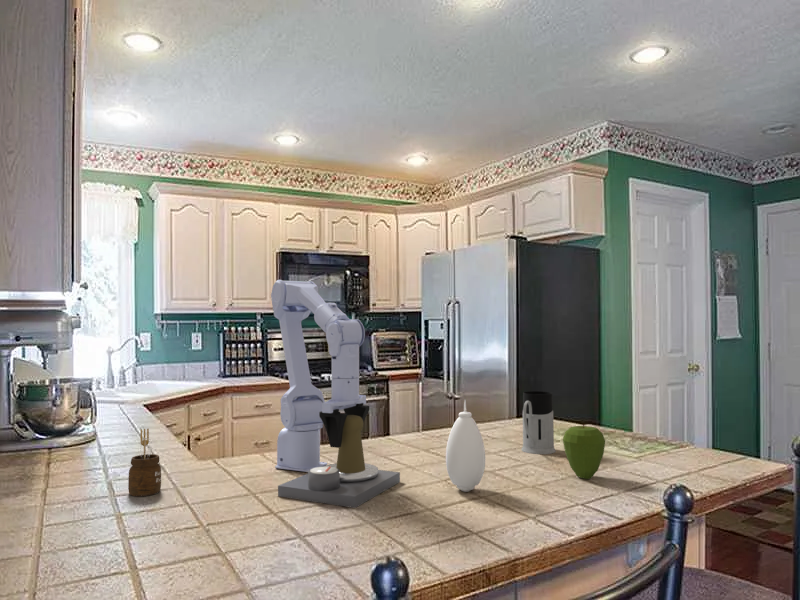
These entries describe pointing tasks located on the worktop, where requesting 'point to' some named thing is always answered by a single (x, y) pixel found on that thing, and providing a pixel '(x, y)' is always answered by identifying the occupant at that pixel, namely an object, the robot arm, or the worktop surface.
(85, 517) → the worktop surface
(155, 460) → the utensil holder
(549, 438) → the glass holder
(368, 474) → the scale pan
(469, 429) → the air blower bulb
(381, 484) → the scale base
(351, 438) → the pepper mill
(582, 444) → the apple
